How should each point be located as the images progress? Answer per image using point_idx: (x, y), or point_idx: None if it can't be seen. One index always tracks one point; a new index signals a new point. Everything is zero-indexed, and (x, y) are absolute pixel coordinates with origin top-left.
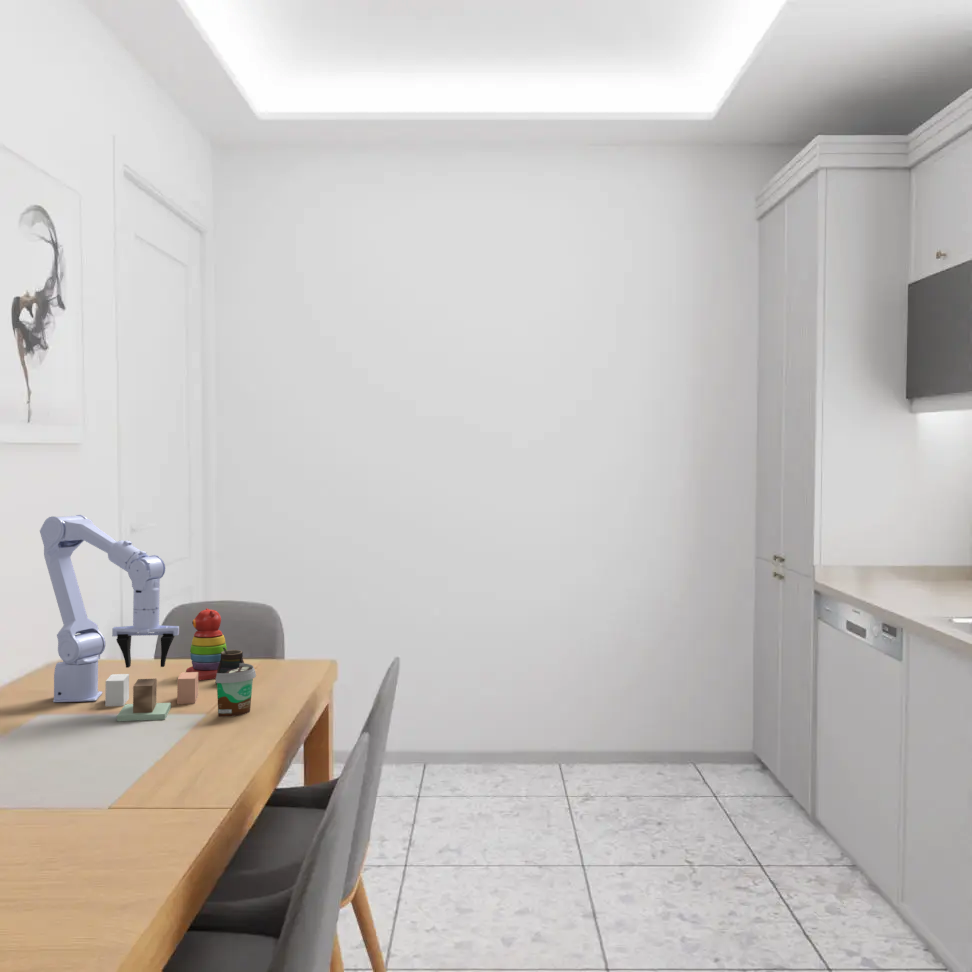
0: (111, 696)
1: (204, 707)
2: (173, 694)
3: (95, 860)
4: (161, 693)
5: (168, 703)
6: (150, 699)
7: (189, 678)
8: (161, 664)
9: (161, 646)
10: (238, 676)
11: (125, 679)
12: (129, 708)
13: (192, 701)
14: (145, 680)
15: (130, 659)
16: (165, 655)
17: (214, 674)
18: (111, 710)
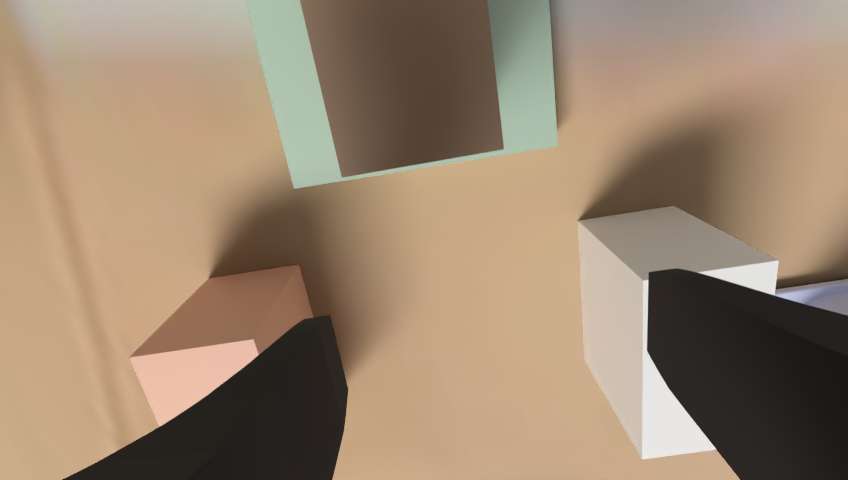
0: (669, 228)
1: (115, 196)
2: (386, 431)
3: None
4: (450, 445)
5: (300, 168)
6: None
7: (170, 355)
8: (313, 324)
9: (208, 458)
10: None
11: (639, 341)
12: (504, 33)
13: (216, 280)
14: (418, 93)
15: (682, 393)
16: (225, 382)
17: None
18: (622, 119)
